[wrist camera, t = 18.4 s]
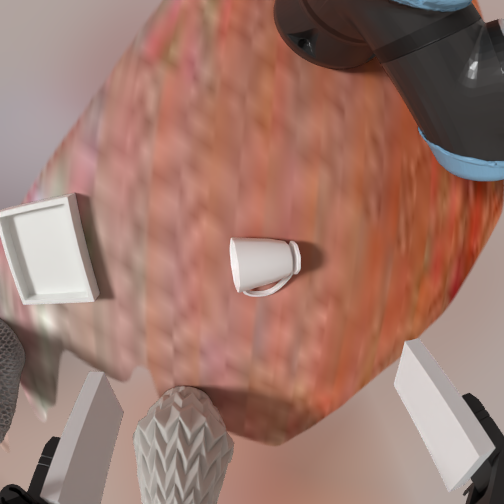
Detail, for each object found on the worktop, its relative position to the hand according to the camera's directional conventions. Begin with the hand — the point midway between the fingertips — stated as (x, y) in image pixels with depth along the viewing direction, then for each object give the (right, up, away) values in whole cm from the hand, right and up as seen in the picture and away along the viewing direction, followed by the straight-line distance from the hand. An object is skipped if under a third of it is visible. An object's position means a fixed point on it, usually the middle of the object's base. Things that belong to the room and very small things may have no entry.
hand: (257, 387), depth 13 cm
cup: (+6, +4, +30) cm, 31 cm away
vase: (-12, -22, +41) cm, 49 cm away
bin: (-31, +6, +29) cm, 43 cm away
